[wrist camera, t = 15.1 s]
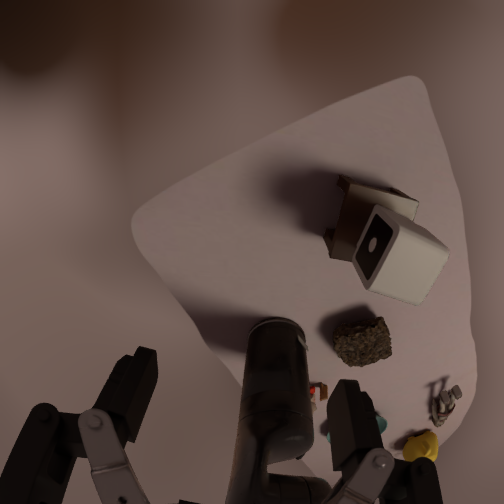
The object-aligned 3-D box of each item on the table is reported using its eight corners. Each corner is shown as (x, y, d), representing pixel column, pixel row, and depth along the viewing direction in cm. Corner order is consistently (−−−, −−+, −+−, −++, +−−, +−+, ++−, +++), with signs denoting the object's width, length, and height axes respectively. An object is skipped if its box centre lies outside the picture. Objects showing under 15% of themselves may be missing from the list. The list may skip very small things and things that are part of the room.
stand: (381, 250, 39) (396, 270, 33) (322, 238, 39) (329, 258, 33) (399, 189, 35) (419, 201, 29) (338, 173, 35) (350, 183, 29)
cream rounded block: (365, 195, 30) (401, 227, 21) (414, 217, 30) (457, 254, 21) (342, 245, 32) (366, 292, 23) (391, 263, 33) (424, 311, 24)
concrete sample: (327, 317, 44) (332, 338, 39) (388, 301, 42) (398, 320, 38) (336, 364, 48) (340, 385, 44) (389, 350, 47) (396, 370, 42)
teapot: (428, 445, 65) (436, 470, 56) (397, 455, 67) (403, 482, 58) (438, 420, 58) (449, 449, 49) (403, 432, 60) (412, 463, 51)
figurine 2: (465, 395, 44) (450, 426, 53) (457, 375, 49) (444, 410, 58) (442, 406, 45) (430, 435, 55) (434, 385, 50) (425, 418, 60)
